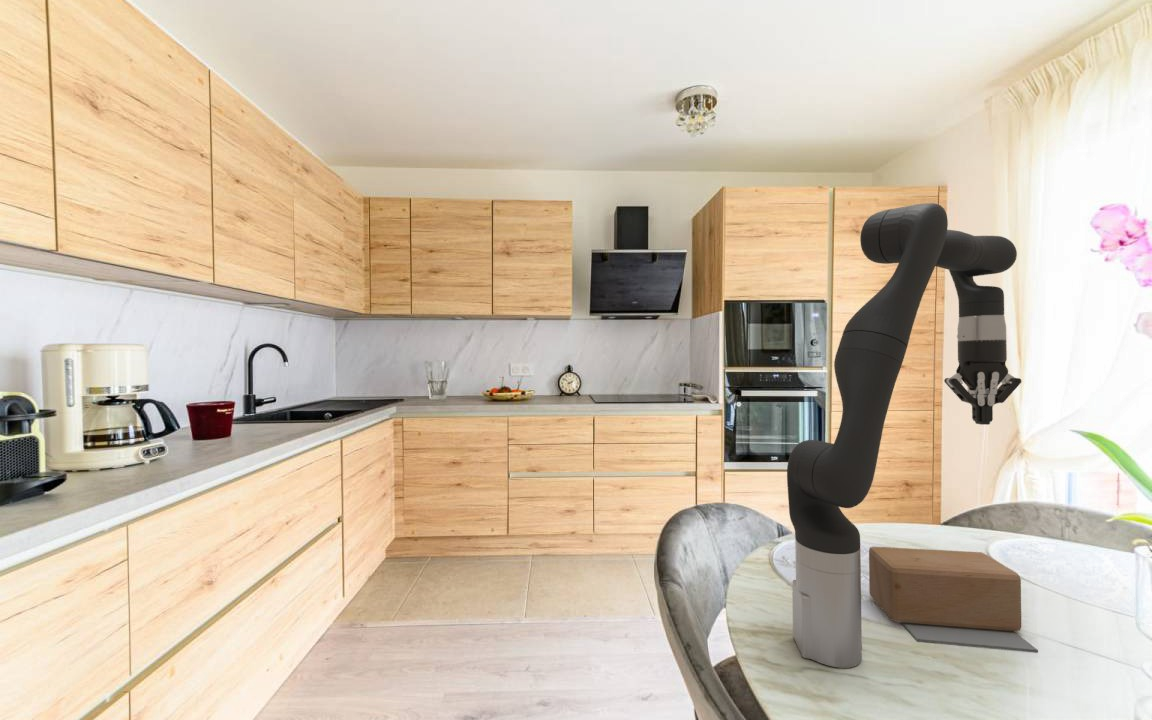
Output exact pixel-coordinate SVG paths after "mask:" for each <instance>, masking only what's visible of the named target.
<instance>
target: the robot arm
mask: <svg viewBox="0 0 1152 720" xmlns="http://www.w3.org/2000/svg"><path fill="white" fill-rule="evenodd" d="M947 214H948V213H947V211H946V210H945V208H944V207H943V206H942V205H941V204H939V203H935V202H934V203H933V202H930V203H929V202H928V203H926V202H925V203H920V204H919V203H918V204H913V205H907V206H901V207H895V208H890V209H885V210H881V211H879V212H878V211H877V212H875V213H873V214H872V215H870V217H868V218H867V219H866V221H865V222H864V223H863V225H862V227H861V228H862V229H861V232H860V237H859V238H860V239H859V241H860V247H861V251H862V253H863V255H864V257H866V258H867V259H868V260H869V261H871V262H874V263H876V264H882V265H883V264H885V265H886V264H887V265H888V264H897V267H896V268H895V271H894V272H893V273H892V276H891V278H890V279H889V280H888V281H887V282H886V283H885V285H884V286H883V287H882V288H881V289H880V290H879V291H878V292H877V293H876V294H875V295H874V296H872V297H871V298H870V299H869V300H868V301H867V302H866V303H865V304H864V305H862V306H861V308H859V309H858V311H856V313H855V314H853V316H852V317H851V318H850V319H849V320H848V322H847V323H846V324H845V327H844V329H843V331H842V334H841V338H840V341H839V344H838V347H837V350H836V353H835V356H834V361H833V363H834V364H833V365H834V369H833V370H834V374H835V379H836V383H837V386H838V389H839V390H838V391H839V394H840V399H841V404H842V413H841V414H842V415H841V419H840V420H841V421H840V424H839V429H838V432H837V435H836V438H835V440H834V443H831V442H826V441H822V440H817V439H816V440H815V439H807V440H803V441H801V442H799V443H798V444H797V445H796V446H794V447H793V449H792V451H791V452H790V454H789V457H788V461H787V469H786V483H787V499H788V512H789V518H790V522H791V524H792V526H793V529H794V539H795V541H794V544H795V550H794V551H795V579H793V580H792V581H791V584H792V585H791V586H792V587H791V588H792V589H791V591H792V637H793V639H794V641H795V643H796V646H797V648H798V650H799V652H800V655H801V657H802V658H804V659H809V660H813V661H815V662H817V663H819V664H822V665H826V666H830V667H834V668H840V669H841V668H843V669H845V668H847V669H848V668H853V667H856V666H859V664H860V663H861V662H862V661H863V660H862V659H863V656H862V655H863V653H862V652H863V642H862V641H863V640H862V639H863V638H862V634H863V633H862V581H861V580H862V575H861V574H862V573H861V572H862V570H861V568H862V567H861V566H862V565H861V564H862V563H861V560H862V559H861V533H860V531H859V529H858V527H856V525H855V524H854V523H853V522H852V521H850V520H849V518H847V516H845V514H844V513H843V512H842V510H841V509H840V508H842V509H843V508H844V509H852V508H856V507H857V506H858V505H860V504H861V503H862V502H863V501H864V499H865V498H866V497H867V496H868V494H869V492H870V489H871V487H872V484H873V481H874V478H875V473H876V468H877V462H878V457H879V452H880V448H881V440H882V436H883V430H884V426H885V422H886V417H887V414H888V410H889V406H890V402H891V399H892V395H893V393H894V388H895V385H896V383H897V379H898V377H899V374H900V371H901V369H902V366H903V363H904V358H905V355H906V353H907V352H906V351H907V349H908V346H909V341H910V339H911V338H910V337H911V334H912V330H913V327H914V323H915V321H916V317H917V314H918V310H919V308H920V305H921V302H922V299H923V297H924V294H925V291H926V288H927V286H928V284H929V283H930V279H931V277H932V275H933V273H934V270H935V268H936V267H937V268H940V269H944V270H948V271H949V274H950V276H951V278H952V281H953V284H954V288H955V291H956V294H957V299H958V322H957V323H958V324H957V335H956V337H957V361H958V366H957V368H956V371H955V372H956V373H955V374H953V375H952V376H950V377H946V378H944V383H945V384H946V385H947V387H949V389H950V390H951V391H952V393H954V394H955V396H956V397H957V398H958V399H959V400H960V401H961V402H964V403H967V404H970V405H971V414H972V415H971V418H972V421H974V422H975V424H976V425H981V426H982V425H990V424H991V423H992V422H993V420H994V419H993V418H994V417H993V415H994V412H993V411H994V410H993V407H994V406H995V405H996V404H1003V403H1005V401H1006V400H1007V399H1008V398H1009V397H1010V396H1011V394H1013V392H1014V391H1015V390H1016V389H1017V388H1018V387H1019V385H1020V384H1021V383H1022V379H1021V378H1019V377H1015V376H1013V375H1012V374H1010V373H1009V368H1008V367H1007V365H1006V362H1007V355H1008V354H1007V353H1008V351H1007V325H1006V320H1005V293H1004V290H1003V288H1001V287H999V286H994V285H993V286H992V285H978V283H976V281H974V280H975V279H974V277H979V276H986V275H996V274H1000V273H1003V272H1006V271H1008V270H1009V269H1011V267H1013V265H1014V264H1015V263H1016V260H1017V257H1018V252H1017V249H1016V248H1017V247H1016V245H1014V243H1013V242H1012V241H1011V240H1010V239H1008V238H1007V237H1004V236H1000V235H973V234H970V233H967V232H964V231H960V230H954V229H948V225H949V221H948V220H949V219H948V215H947ZM963 384H965V386H966V387H967V389H966V387H965V386H963ZM1000 384H1001V385H1000Z"/></svg>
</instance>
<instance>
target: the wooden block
mask: <svg viewBox="0 0 1152 720" xmlns="http://www.w3.org/2000/svg"><path fill="white" fill-rule="evenodd" d="M868 572H869V573H868V577H869V579H868V581H869V582H868V583H869V584H868V586H869V596H870V597H871V598H872V599H873V600H874V602H875V603H876V604H877V605H878V607H880V609H882V610H883V612H884V613H885V614H886V616H888V618H890V620H892V621H894V622H897V623H900V622H905V623H918V624H930V625H943V626H956V627H968V628H981V629H994V630H1006V631H1014V632H1020V631H1021V629H1022V579H1021V577H1020V575H1019V573H1018V572H1016V571H1014V570H1013V569H1011V568H1009V567H1008V566H1006V565H1004V564H1002V563H1001V562H999V561H997V560H996V559H994V558H992V557H991V556H989V555H988V554H986V553H984V552H982V551H981V552H980V551H979V552H978V551H963V550H946V549H945V550H944V549H927V548H926V549H924V548H910V547H909V548H906V547H905V548H904V547H890V546H887V547H886V546H870V547H869V550H868Z"/></svg>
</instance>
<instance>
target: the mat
mask: <svg viewBox="0 0 1152 720" xmlns="http://www.w3.org/2000/svg"><path fill="white" fill-rule="evenodd" d="M899 623H900V624H901V626H903V627H904V629H906V631H907V632H908V633H909V634H910V635H911V637H912V638H914V640H915V641H916V642H921V643H930V644H942V645H953V646H961V647H962V646H963V647H975V648H984V649H986V648H987V649H997V650H1005V651H1017V652H1028V653H1038V652H1039V649H1037V648H1036V647H1034V646H1033V645H1032V644H1031V643H1030V642H1029V641H1027V640H1026V639H1025V638H1023V637H1022V636H1021V635H1019V633H1017V631H1006V630H994V629H981V628H968V627H956V626H943V625H930V624H918V623H905V622H899Z"/></svg>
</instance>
